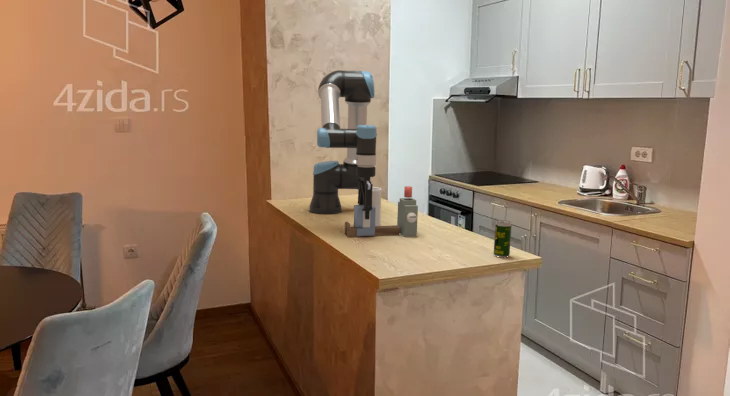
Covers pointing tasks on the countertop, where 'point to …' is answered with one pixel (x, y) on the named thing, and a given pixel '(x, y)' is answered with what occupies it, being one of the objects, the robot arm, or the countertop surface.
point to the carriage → (359, 221)
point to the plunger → (408, 192)
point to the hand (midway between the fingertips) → (364, 225)
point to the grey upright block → (407, 217)
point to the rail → (378, 230)
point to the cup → (377, 204)
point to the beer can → (502, 238)
